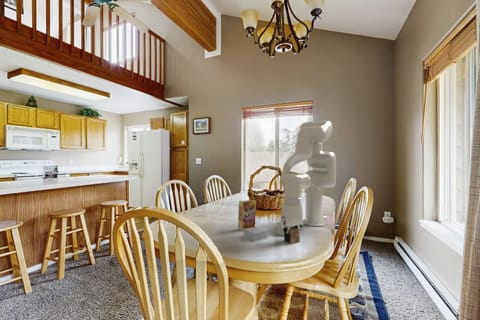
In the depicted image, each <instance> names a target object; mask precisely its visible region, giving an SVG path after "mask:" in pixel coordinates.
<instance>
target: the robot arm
mask: <svg viewBox="0 0 480 320" xmlns="http://www.w3.org/2000/svg"><path fill="white" fill-rule="evenodd" d="M332 133H333V124H332V122H331V121H330V120H318V121H317V120H316V121H307V122H306V121H305V122H303V123H301V124H300V128H299V130H298V132H297V137H296V144H295V149H294V153H293V154H292V155H291V156H290V157H289V158H288V159H287V160H286V161H285V163H284V164H283V167H282V171H281V176H280V183H281V185H282V187H284V195H283V197H284V198H283V201H284V202H283V204H282V205H281V211H280V220H279V221H280V225H279V227H280V228H281V229H282V230H283V232H284V236H283V241H284V240H285V241H284V242H286V241H287V242H286V243H288V242H290V233H289V231H290V227H292V226H293V227H295V228H298V229H300V231H301V229H302V227H303V225H306V226H310V227H323V226H325V225H326V223H325V221H324V220H327V219H328V216H327V215H323V199H324V198H323V192H322V191H321V189H320V188H334V187H335V186H336V184H337V157H336V154H335V153H334V152H332V151H323V143H325V142H326V141H327V140H328V139H329V138H330V136H331V135H332ZM304 161H307V162H306V163H307V166H308V167H309V168H314V169H311V170H307V171H305V173H299V172H291V170H292V168H293V167H295V166H296V165H297V164H300V163H301V162H304ZM316 169H320V170H316ZM321 169H326V170H321ZM302 190H305V207H304V208H305V212H304V213H305V214H304V213H303V205H302V200H303V198H302ZM303 214H304V215H305V217H304V216H303ZM303 217H304V218H303ZM286 228H287V229H286Z"/></svg>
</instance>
